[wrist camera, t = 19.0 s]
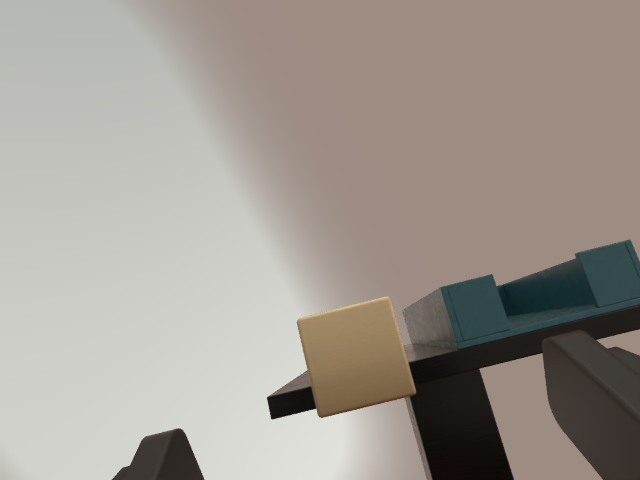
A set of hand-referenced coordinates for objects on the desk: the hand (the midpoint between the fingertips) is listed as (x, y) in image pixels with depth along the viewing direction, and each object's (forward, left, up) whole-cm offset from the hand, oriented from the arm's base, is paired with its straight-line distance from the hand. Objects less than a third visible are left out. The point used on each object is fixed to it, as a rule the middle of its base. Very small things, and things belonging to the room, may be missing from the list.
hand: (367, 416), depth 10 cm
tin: (+9, +20, 0) cm, 22 cm away
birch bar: (0, +14, 0) cm, 14 cm away
